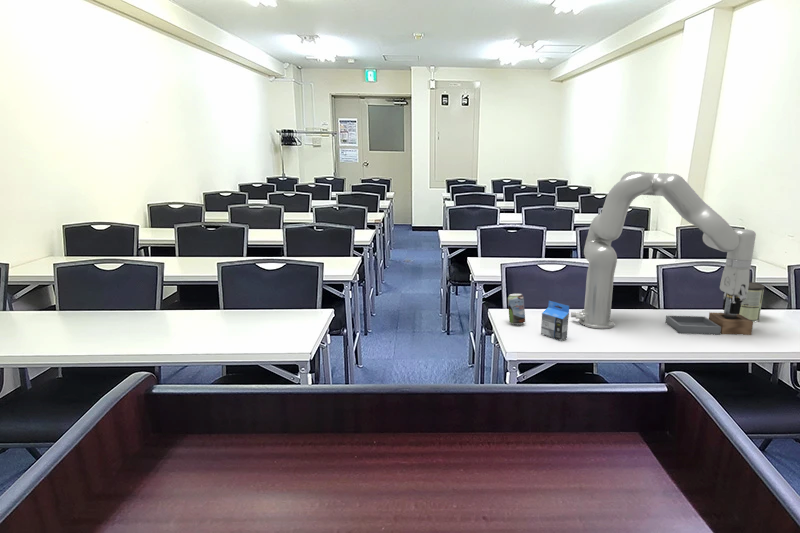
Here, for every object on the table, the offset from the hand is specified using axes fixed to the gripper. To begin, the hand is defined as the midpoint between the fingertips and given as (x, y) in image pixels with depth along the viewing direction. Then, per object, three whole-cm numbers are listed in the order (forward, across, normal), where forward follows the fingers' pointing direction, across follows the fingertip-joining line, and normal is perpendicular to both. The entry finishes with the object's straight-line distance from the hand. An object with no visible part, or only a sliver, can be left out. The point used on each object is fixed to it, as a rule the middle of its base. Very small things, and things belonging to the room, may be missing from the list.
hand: (730, 311), depth 176 cm
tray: (+7, 0, -13) cm, 15 cm away
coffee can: (+7, -15, +13) cm, 21 cm away
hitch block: (+7, 0, 0) cm, 7 cm away
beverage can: (+8, +1, -78) cm, 78 cm away
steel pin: (+6, 0, 0) cm, 6 cm away
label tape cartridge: (+8, +14, -66) cm, 68 cm away
